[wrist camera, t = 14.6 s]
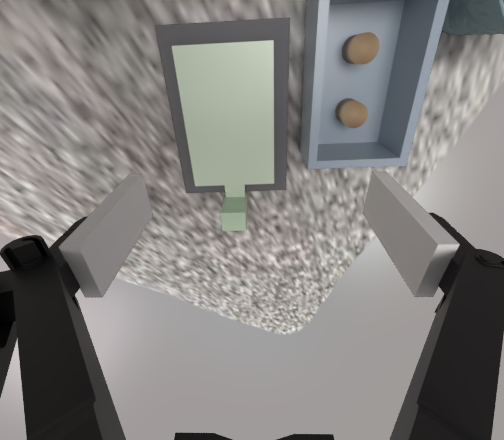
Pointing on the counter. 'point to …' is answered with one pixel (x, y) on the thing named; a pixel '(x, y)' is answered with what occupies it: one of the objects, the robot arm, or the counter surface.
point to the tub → (366, 79)
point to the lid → (229, 118)
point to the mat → (229, 34)
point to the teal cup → (474, 17)
